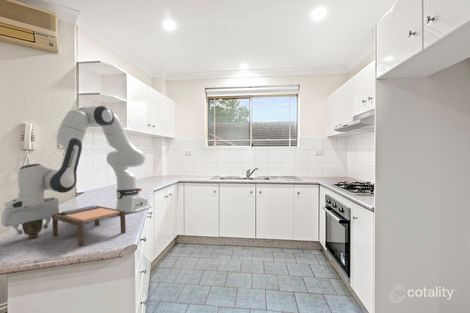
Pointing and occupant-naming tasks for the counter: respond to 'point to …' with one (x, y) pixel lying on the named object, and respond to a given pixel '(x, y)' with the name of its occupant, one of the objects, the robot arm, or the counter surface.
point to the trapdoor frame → (79, 224)
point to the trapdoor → (89, 213)
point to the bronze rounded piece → (32, 228)
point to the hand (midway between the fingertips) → (32, 231)
